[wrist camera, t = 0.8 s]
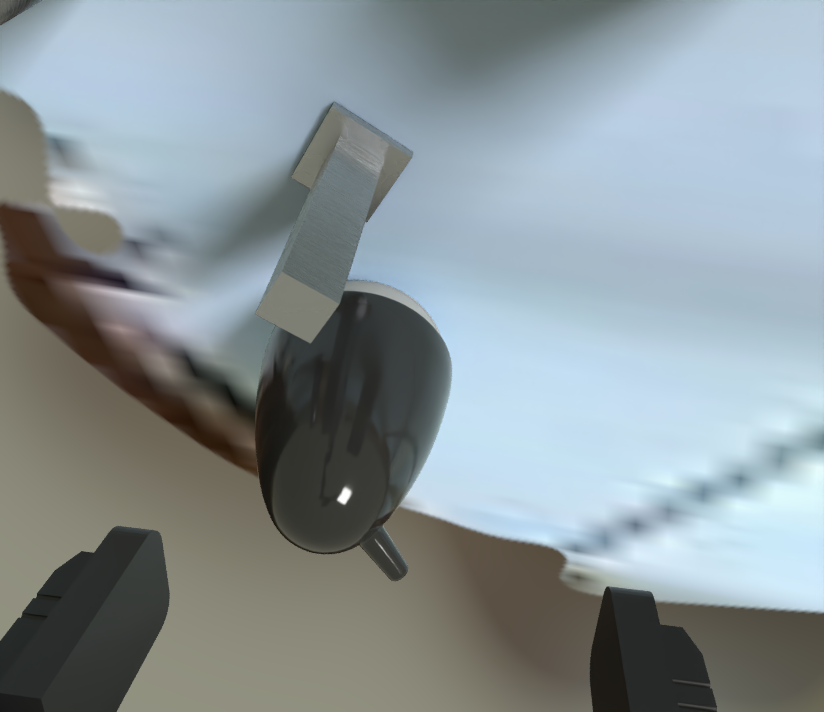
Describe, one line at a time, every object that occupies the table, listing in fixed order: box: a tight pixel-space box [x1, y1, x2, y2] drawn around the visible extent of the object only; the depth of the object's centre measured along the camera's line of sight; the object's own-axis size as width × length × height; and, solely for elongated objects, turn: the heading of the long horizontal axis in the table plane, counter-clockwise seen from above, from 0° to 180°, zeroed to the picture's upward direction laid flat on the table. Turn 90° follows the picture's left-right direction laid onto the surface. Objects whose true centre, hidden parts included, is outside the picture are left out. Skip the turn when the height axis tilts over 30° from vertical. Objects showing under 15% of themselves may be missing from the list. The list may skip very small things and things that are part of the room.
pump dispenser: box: [255, 281, 452, 581], centre depth 38 cm, size 10×10×15 cm
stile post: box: [255, 102, 413, 343], centre depth 32 cm, size 4×4×12 cm
